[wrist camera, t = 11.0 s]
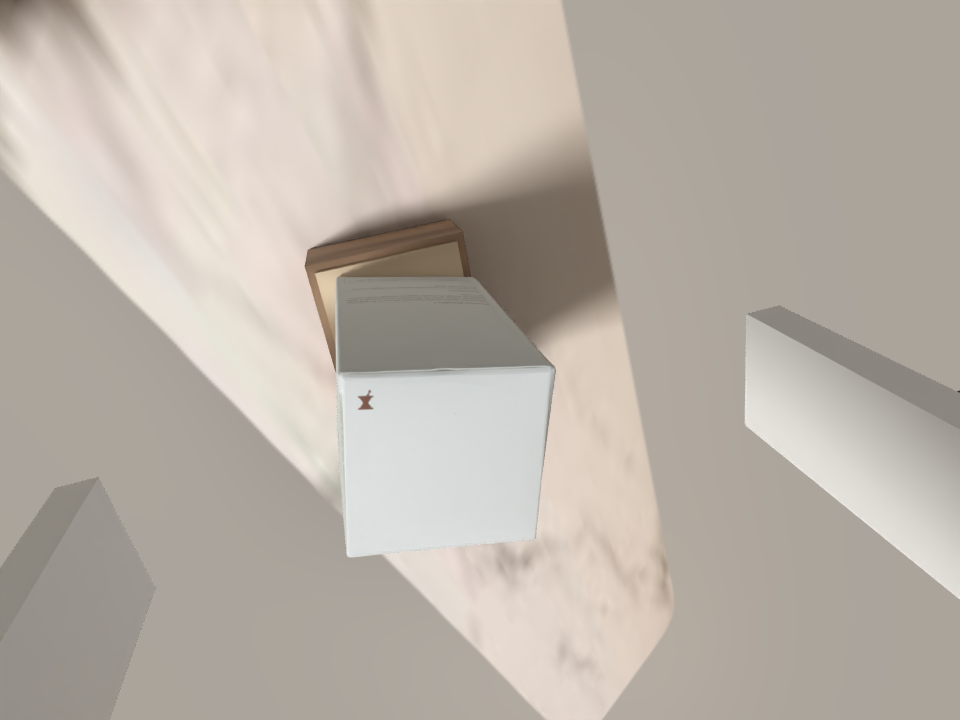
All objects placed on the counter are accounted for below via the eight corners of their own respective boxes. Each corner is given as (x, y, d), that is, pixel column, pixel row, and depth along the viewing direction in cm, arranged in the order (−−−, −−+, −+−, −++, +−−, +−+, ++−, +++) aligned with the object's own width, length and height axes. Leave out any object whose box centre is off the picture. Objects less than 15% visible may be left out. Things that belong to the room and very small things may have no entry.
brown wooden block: (308, 249, 35) (304, 267, 31) (449, 219, 36) (463, 232, 32) (353, 408, 39) (355, 442, 35) (480, 377, 40) (495, 406, 36)
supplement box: (336, 409, 34) (337, 563, 22) (334, 272, 31) (333, 367, 20) (472, 404, 35) (538, 546, 24) (480, 274, 33) (560, 363, 21)
